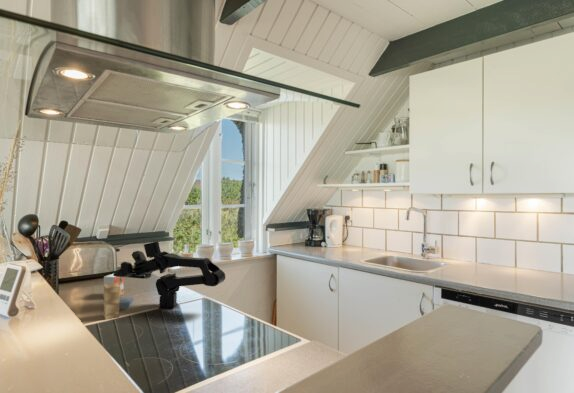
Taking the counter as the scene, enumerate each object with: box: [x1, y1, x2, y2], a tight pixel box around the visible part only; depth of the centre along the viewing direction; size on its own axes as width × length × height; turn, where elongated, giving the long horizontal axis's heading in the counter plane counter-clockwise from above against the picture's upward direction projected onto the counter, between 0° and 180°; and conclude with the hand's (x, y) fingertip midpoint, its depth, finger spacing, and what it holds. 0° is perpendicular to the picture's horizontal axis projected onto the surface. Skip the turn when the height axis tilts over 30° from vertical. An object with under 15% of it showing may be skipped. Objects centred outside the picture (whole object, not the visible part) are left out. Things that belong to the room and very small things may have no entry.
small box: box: [103, 273, 125, 297], centre depth 170 cm, size 8×6×10 cm
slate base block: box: [119, 296, 135, 310], centre depth 157 cm, size 8×8×3 cm
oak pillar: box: [103, 283, 120, 320], centre depth 144 cm, size 5×5×13 cm
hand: (120, 275), depth 161 cm, fingers open, 9 cm apart
